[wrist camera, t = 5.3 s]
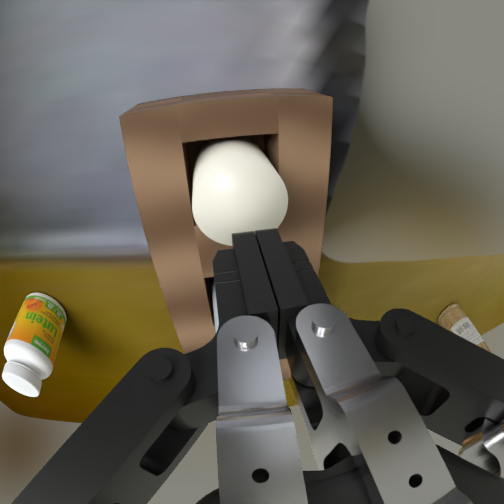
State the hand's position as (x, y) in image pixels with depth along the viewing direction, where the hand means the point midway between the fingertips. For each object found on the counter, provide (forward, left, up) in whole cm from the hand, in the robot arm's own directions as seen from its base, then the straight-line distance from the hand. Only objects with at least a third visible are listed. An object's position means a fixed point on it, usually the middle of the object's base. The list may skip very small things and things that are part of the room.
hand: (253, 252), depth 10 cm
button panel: (+7, +5, -12) cm, 15 cm away
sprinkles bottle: (+2, +41, -12) cm, 43 cm away
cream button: (0, 0, -9) cm, 9 cm away
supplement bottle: (+22, -10, -12) cm, 27 cm away
